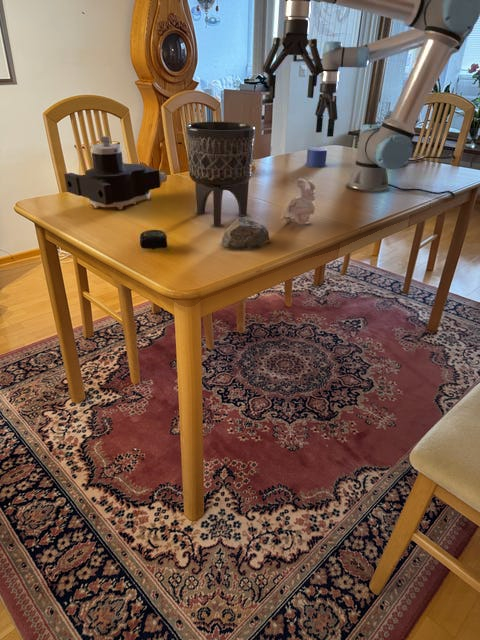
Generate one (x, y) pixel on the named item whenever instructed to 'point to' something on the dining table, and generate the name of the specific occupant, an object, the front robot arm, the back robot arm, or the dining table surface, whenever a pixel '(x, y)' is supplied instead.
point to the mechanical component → (113, 178)
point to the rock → (245, 234)
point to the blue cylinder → (316, 157)
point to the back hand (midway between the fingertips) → (324, 134)
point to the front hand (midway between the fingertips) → (291, 98)
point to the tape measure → (153, 239)
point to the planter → (220, 162)
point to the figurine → (301, 204)
